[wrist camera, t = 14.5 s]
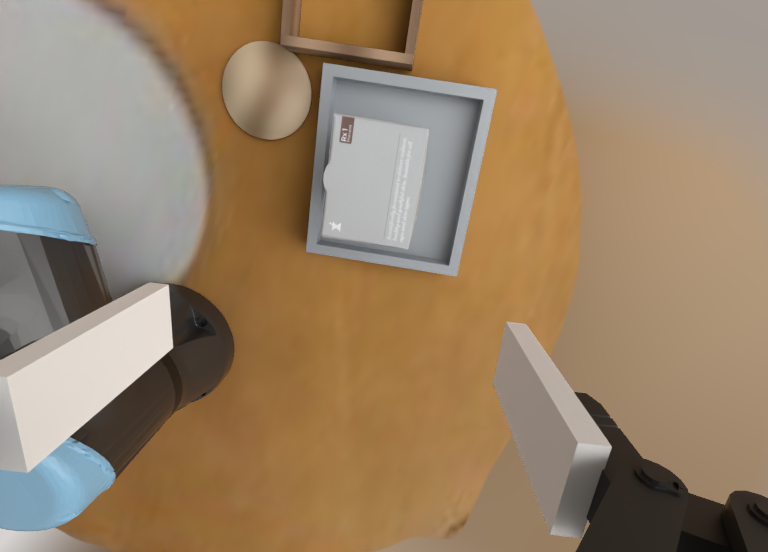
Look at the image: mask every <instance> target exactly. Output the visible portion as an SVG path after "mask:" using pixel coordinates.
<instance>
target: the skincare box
mask: <svg viewBox="0 0 768 552" xmlns="http://www.w3.org/2000/svg"><path fill="white" fill-rule="evenodd" d="M428 136H429V129H427V128H423V127H418V126H412V125H407V124H401V123H395V122H389V121H383V120H377V119H371V118H364V117H358V116H351V115H345V114H338V113H334V115H333V121H332V130H331V140H330V149H329V159H328V165H327V166H326V168H325V171H324V175H323V183H324V187H325V194H324V203H323V213H322V222H321V235H322V237H325V238H331V239H338V240H344V241H351V242H358V243H365V244H372V245H379V246H386V247H393V248H400V249H409V244H410V240H411V236H412V232H413V229H414V225H415V222H416V219H417V215H418V210H419V205H420V199H421V194H422V189H423V183H424V176H425V169H426V162H427V153H428V145H429V143H428Z"/></svg>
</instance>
